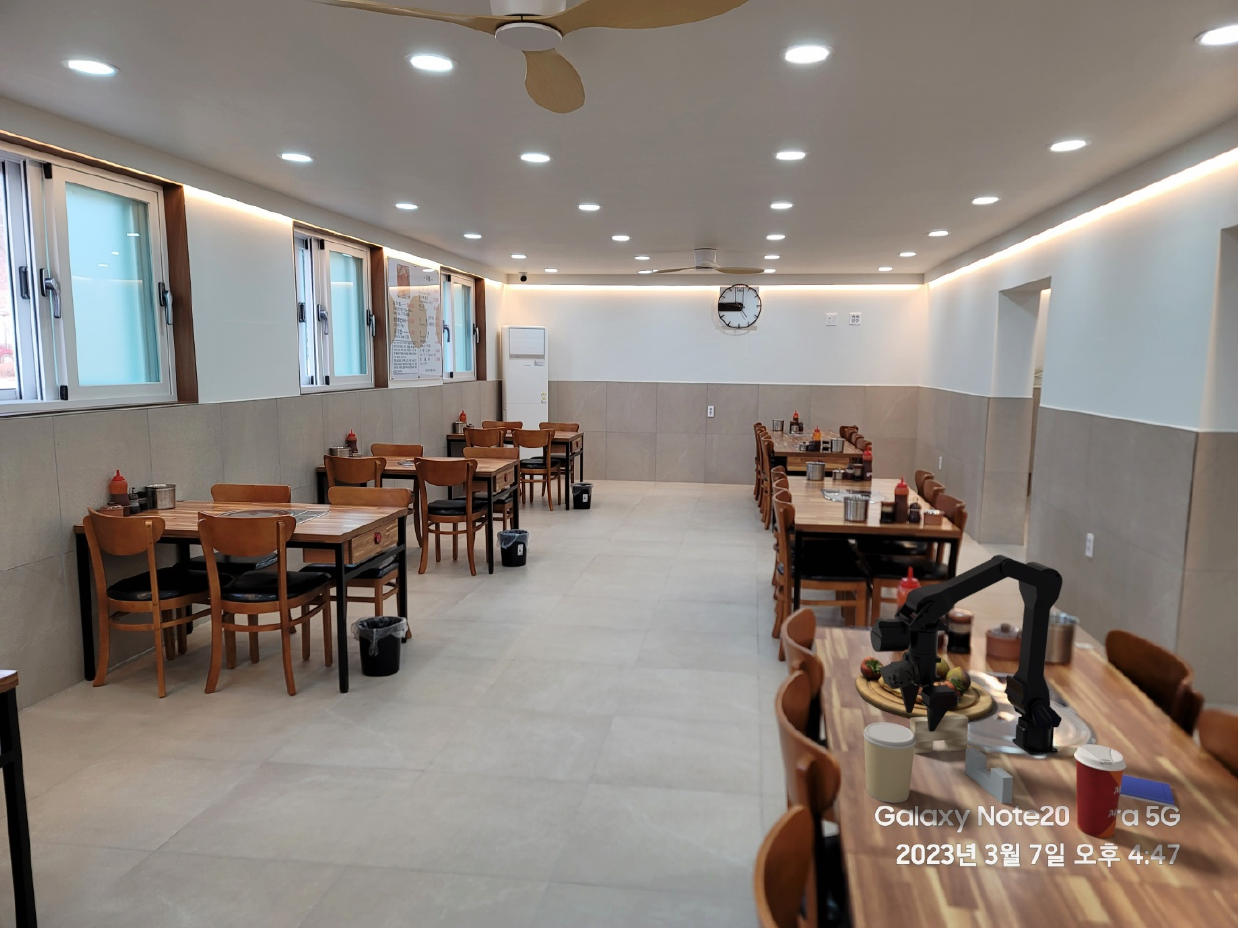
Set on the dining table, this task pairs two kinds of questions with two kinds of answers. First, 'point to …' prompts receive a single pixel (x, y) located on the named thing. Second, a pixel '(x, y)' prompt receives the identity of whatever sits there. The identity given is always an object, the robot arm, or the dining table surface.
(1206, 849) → the dining table surface
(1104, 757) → the paper cup
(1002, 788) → the gray u-shaped block
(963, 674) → the wooden plate with food
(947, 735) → the birch plate
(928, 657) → the robot arm
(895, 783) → the coffee cup
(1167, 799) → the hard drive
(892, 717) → the dining table surface
